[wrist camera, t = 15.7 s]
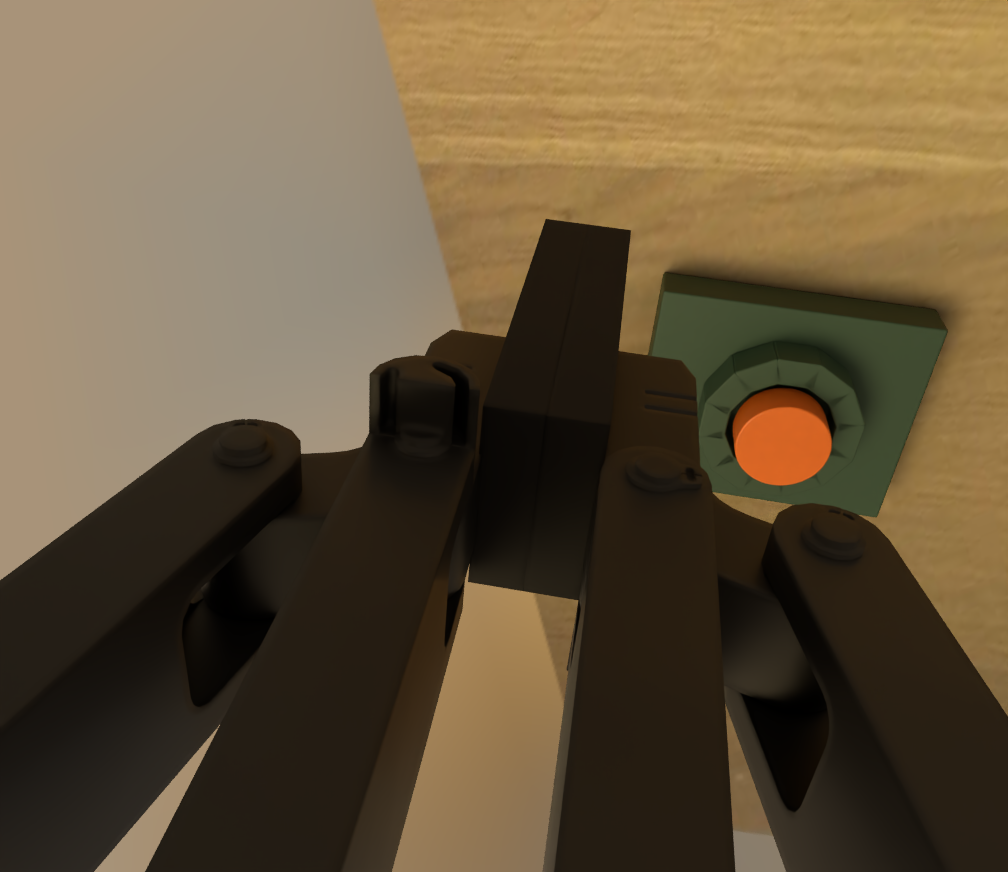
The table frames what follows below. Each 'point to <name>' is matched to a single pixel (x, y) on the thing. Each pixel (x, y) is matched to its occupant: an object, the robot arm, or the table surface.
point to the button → (781, 436)
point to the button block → (801, 377)
